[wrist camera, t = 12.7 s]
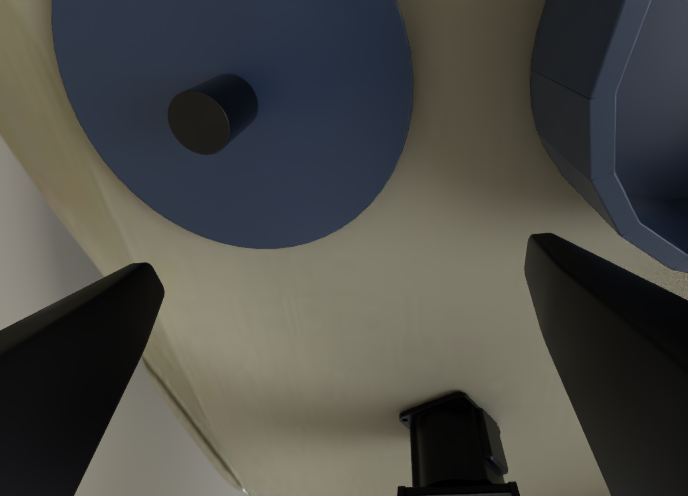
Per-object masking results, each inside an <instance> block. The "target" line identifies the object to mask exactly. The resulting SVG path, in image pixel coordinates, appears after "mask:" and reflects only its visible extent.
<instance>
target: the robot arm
mask: <svg viewBox="0 0 688 496" xmlns="http://www.w3.org/2000/svg"><path fill="white" fill-rule="evenodd" d="M524 270H525V277H526V280H527V284H528V287H529V291H530V294H531V298H532V301H533V305H534V308H535V312H536V315H537V319H538V322H539V326H540V329H541V332H542V335H543V338H544V340H545V343H546V345H547V348H548V350H549V353H550V355H551V357H552V359H553V362H554V364H555V366H556V369H557V371H558V373H559V376H560V378H561V380H562V383H563V385H564V387H565V390H566V392H567V394H568V396H569V399H570V401H571V403H572V406H573V408H574V410H575V413H576V415H577V417H578V420H579V422H580V424H581V427H582V429H583V431H584V433H585V436H586V438H587V440H588V443H589V445H590V447H591V450H592V452H593V454H594V457H595V459H596V461H597V464H598V466H599V468H600V470H601V473H602V475H603V477H604V480H605V482H606V484H607V487H608V489H609V491H610V494H611V496H688V300H686V299H684V298H682V297H680V296H678V295H676V294H674V293H672V292H670V291H668V290H666V289H664V288H662V287H660V286H658V285H656V284H654V283H652V282H650V281H647V280H645V279H643V278H641V277H639V276H637V275H635V274H633V273H631V272H629V271H627V270H625V269H623V268H621V267H619V266H617V265H615V264H613V263H611V262H609V261H607V260H605V259H603V258H601V257H599V256H597V255H595V254H593V253H591V252H589V251H587V250H585V249H583V248H581V247H579V246H577V245H575V244H573V243H571V242H569V241H567V240H565V239H563V238H561V237H559V236H557V235H555V234H553V233H540V234H532V235H531V236H530V237H529V239H528V244H527V251H526V258H525V266H524ZM164 293H165V292H164V287H163V285H162V283H161V281H160V279H159V278H158V276H157V274H156V272H155V270H154V268H153V267H152V266H151V265H150V264H149V263H146V262H145V263H133V264H130V265H128V266H126V267H124V268H122V269H120V270H118V271H116V272H114V273H112V274H110V275H108V276H106V277H104V278H102V279H100V280H98V281H96V282H95V283H92V284H91V285H89V286H87V287H85V288H83V289H81V290H79V291H77V292H75V293H73V294H71V295H69V296H67V297H65V298H63V299H61V300H59V301H57V302H55V303H53V304H51V305H49V306H47V307H45V308H43V309H41V310H40V311H38V312H36V313H34V314H32V315H30V316H28V317H26V318H24V319H22V320H20V321H18V322H16V323H14V324H12V325H10V326H8V327H6V328H4V329H2V330H0V496H74V495H75V492H76V491H77V488H78V486H79V484H80V482H81V480H82V478H83V476H84V474H85V472H86V470H87V468H88V466H89V464H90V461H91V459H92V457H93V455H94V453H95V451H96V449H97V447H98V445H99V443H100V441H101V439H102V437H103V435H104V433H105V430H106V428H107V426H108V424H109V422H110V420H111V418H112V416H113V414H114V412H115V410H116V408H117V406H118V404H119V401H120V399H121V397H122V395H123V393H124V391H125V389H126V387H127V385H128V383H129V381H130V379H131V377H132V375H133V373H134V370H135V368H136V366H137V364H138V362H139V360H140V358H141V356H142V354H143V352H144V349H145V347H146V344H147V342H148V339H149V337H150V334H151V331H152V328H153V326H154V323H155V320H156V317H157V315H158V312H159V309H160V306H161V304H162V301H163V298H164ZM399 419H400V422H401V423H403V424H404V425H405V426H406V427H407V428H408V429H410V442H411V464H412V486H413V487H405V486H398V492H397V496H520V494H519V490H518V487H517V483H516V481H515V482H508V483H505V482H504V478H503V475H504V474H507V472H508V467H507V463H506V459H505V455H504V451H503V447H502V443H501V439H500V435H499V434H500V429H499V427H498V426H497V423H496V422H495V421H494V420H493V419H492V418H491V417H490V416H489V415H488V414H487V413H486V412H485V411H484V410H483V409H482V408H480V407H478V406H477V405H476V404H475V403H474V402H473V400H472V399H471V398H470V397H469V396H468V395H467V394H465V393H463V392H458V393H455V394H452V395H449V396H446V397H444V398H441V399H438V400H436V401H433V402H430V403H427V404H425V405H422V406H419V407H416V408H414V409H411V410H408V411H406V412H403V413H401V414H400V415H399Z"/></svg>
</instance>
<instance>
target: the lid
mask: <svg viewBox="0 0 688 496" xmlns="http://www.w3.org/2000/svg"><path fill="white" fill-rule="evenodd" d="M52 30H53V40H54V49H55V53H56V58H57V62H58V67H59V71H60V75H61V78H62V81H63V84H64V87H65V90H66V93H67V96H68V99H69V101H70V103H71V105H72V108H73V110H74V112H75V114H76V116H77V119H78V121H79V123H80V124H81V126H82V128H83V130H84V131H85V133H86V135H87V137H88V138H89V140H90V142H91V143H92V145H93V146H94V148H95V149H96V151H97V152H98V153H99V155H100V156H101V158H102V159H103V161H104V162H105V163H106V164H107V165H108V167H109V168H110V169H111V170H112V171H113V173H114V174H115V175H116V176H117V177H118V178H119V179H120V180H121V181H122V182H123V183H124V184H125V185H126V186H127V187H128V188H129V189H130V190H131V191H132V192H133V193H134V194H135V195H136V196H137V197H138V198H140V199H141V200H142V201H143V202H144V203H146V204H147V205H148V206H149V207H150V208H152V209H153V210H155V211H156V212H158V213H159V214H161V215H162V216H164V217H165V218H166V219H168V220H170V221H172V222H173V223H175V224H177V225H179V226H180V227H182V228H184V229H186V230H188V231H191V232H193V233H195V234H197V235H200V236H202V237H205V238H208V239H211V240H214V241H217V242H220V243H224V244H228V245H233V246H238V247H245V248H254V249H277V248H285V247H293V246H297V245H301V244H306V243H309V242H312V241H315V240H317V239H320V238H323V237H325V236H327V235H329V234H331V233H333V232H335V231H337V230H339V229H341V228H342V227H344V226H345V225H346V224H348V223H349V222H351V221H352V220H353V219H355V218H356V217H357V216H358V215H359V214H360V213H362V212H363V211H364V210H365V209H366V208H367V207H368V206H369V205H370V204H371V203H372V202H373V200H374V199H375V198H376V197H377V195H378V194H379V193H380V192H381V190H382V189H383V188H384V186H385V184H386V183H387V181H388V179H389V178H390V176H391V174H392V173H393V171H394V169H395V166H396V164H397V162H398V160H399V157H400V155H401V153H402V150H403V147H404V143H405V140H406V136H407V133H408V129H409V123H410V117H411V111H412V99H413V73H412V62H411V51H410V47H409V42H408V38H407V33H406V28H405V24H404V21H403V18H402V15H401V12H400V9H399V6H398V4H397V1H396V0H52Z"/></svg>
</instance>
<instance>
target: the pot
mask: <svg viewBox="0 0 688 496" xmlns="http://www.w3.org/2000/svg"><path fill="white" fill-rule="evenodd" d="M530 93H531V107H532V111H533V116H534V120H535V125H536V130H537V132H538V135H539V136H540V139H541V141H542V144H543V146H544V147H545V149H546V151H547V152H548V154H549V156H550V157H551V159H552V161H553V162H554V163H555V164H556V166H557V168H558V170H559V171H560V173H561V175H562V176H563V177H564V178H565V179H566V180H567V181H568V182H569V183H570V184H571V186H572V187H573V188H574V189H575V190H576V191H577V192H578V193H579V194H580V195H581V196H582V197H583V198H584V199H585V200H586V201H587V202H588V203H589V204H590V205H591V206H592V207H593V208H594V209H595V210H596V211H597V212H598V213H599V215H600V216H601V217H602V218H603V219H604V220H605V221H606V222H607V223H608V224H609V225H610V226H611V227H612V228H613V229H614V230H615V231H616V232H617V233H618V234H619V235H620V236H621V237H622V238H624V239H625V240H627V241H628V242H630V243H631V244H633V245H634V246H636V247H637V248H639V249H641V250H642V251H644V252H645V253H647V254H648V255H650V256H651V257H653V258H654V259H656V260H657V261H659V262H660V263H662V264H663V265H665V266H666V267H668V268H669V269H672V270H676V271H681V272H686V273H688V0H546V3H545V6H544V9H543V12H542V16H541V19H540V22H539V25H538V29H537V32H536V38H535V43H534V48H533V53H532V59H531V74H530Z"/></svg>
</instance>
